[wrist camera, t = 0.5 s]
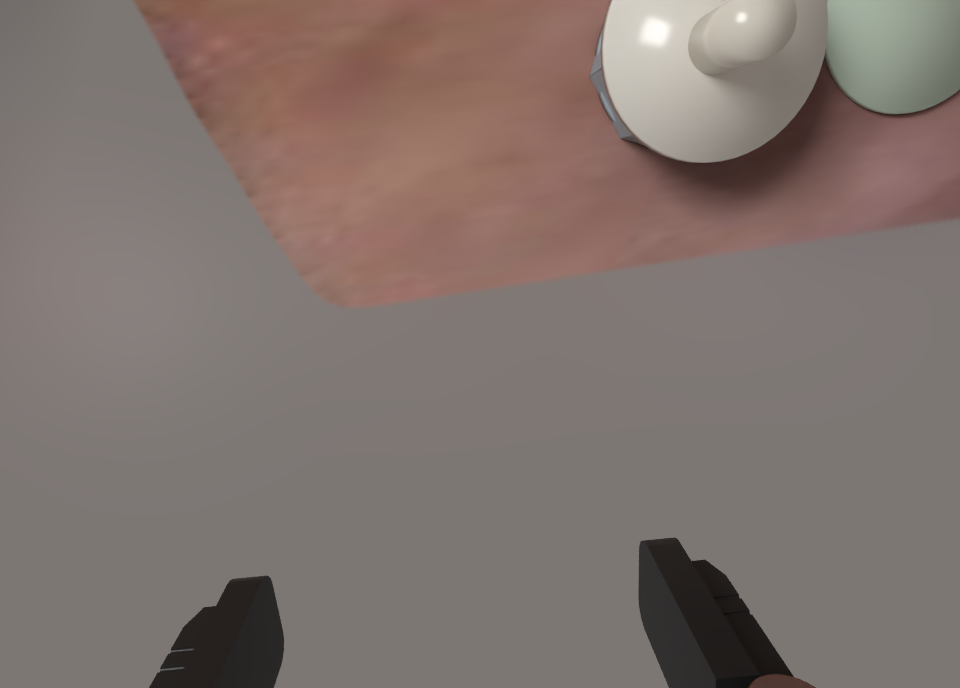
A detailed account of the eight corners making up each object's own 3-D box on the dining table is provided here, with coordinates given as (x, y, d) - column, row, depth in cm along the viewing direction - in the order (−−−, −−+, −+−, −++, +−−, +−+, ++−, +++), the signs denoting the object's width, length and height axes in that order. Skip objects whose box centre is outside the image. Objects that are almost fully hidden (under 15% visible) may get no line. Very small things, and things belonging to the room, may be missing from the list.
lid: (640, -114, 28) (684, -178, 23) (853, -44, 30) (938, -89, 24) (573, 132, 31) (598, 123, 26) (769, 185, 33) (829, 187, 27)
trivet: (867, -118, 33) (872, -122, 32) (1034, -60, 34) (1041, -62, 34) (793, 87, 35) (797, 86, 35) (950, 134, 37) (955, 133, 36)
